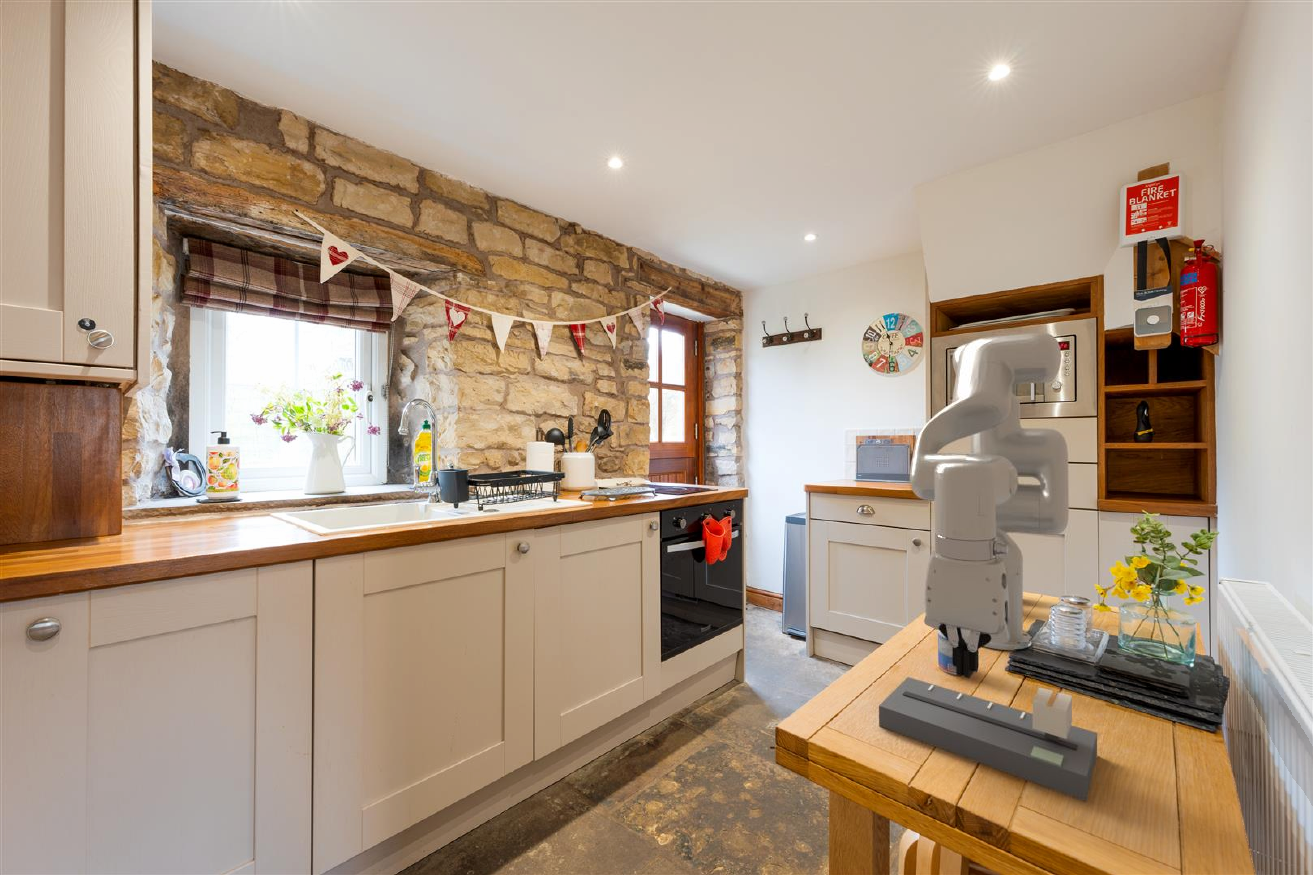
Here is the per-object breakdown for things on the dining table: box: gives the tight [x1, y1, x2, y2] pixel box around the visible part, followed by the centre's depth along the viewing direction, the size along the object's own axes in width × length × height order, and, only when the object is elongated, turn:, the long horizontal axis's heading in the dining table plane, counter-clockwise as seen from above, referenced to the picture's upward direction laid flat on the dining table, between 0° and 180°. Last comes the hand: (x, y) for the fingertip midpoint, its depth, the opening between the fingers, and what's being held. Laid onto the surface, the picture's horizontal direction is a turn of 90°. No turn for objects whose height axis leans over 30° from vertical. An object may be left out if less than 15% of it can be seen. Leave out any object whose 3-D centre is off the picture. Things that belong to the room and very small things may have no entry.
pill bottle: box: [937, 628, 970, 676], centre depth 98 cm, size 6×5×10 cm
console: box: [878, 676, 1098, 803], centre depth 76 cm, size 12×24×3 cm, turn 47°
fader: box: [1032, 687, 1073, 741], centre depth 71 cm, size 5×4×5 cm
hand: (965, 673), depth 79 cm, fingers closed
